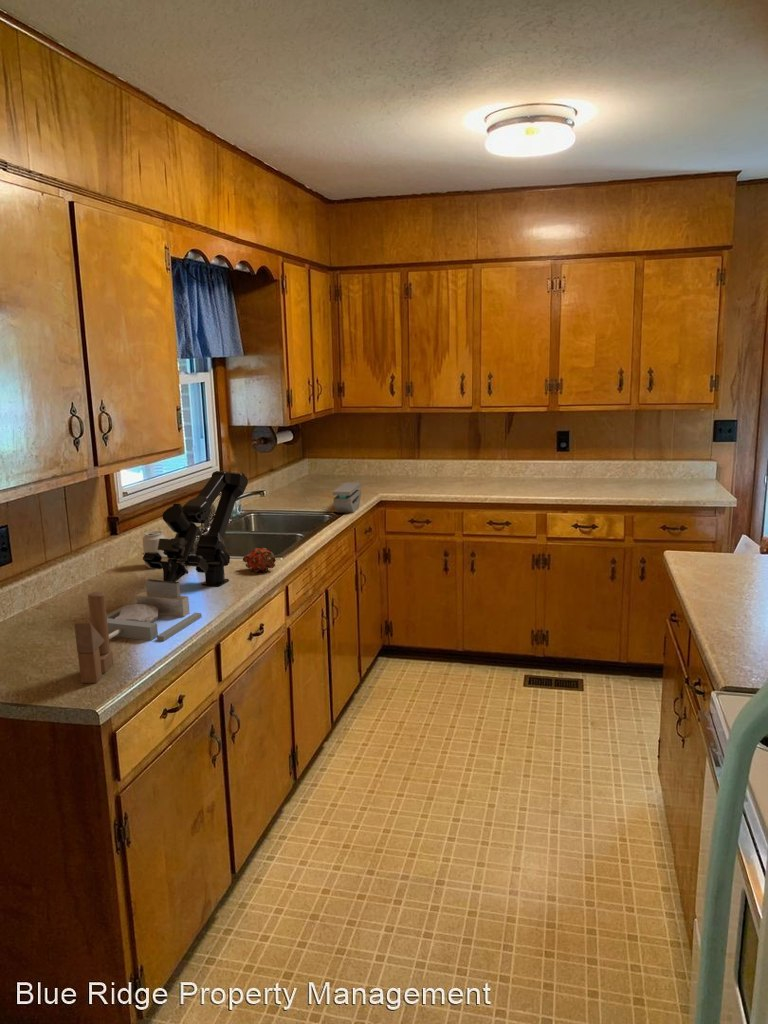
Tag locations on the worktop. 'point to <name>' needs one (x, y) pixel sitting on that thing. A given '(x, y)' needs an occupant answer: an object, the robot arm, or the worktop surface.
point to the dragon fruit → (260, 560)
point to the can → (152, 543)
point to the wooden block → (94, 641)
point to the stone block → (139, 613)
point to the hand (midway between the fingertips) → (165, 588)
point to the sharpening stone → (347, 497)
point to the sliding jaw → (164, 598)
